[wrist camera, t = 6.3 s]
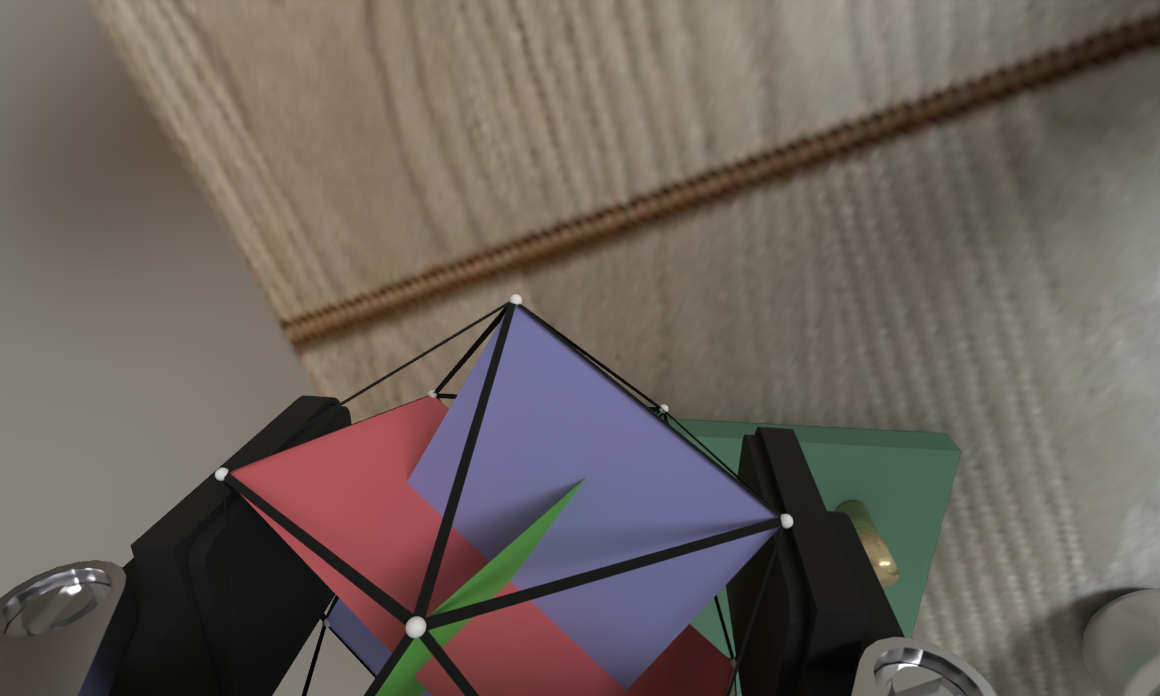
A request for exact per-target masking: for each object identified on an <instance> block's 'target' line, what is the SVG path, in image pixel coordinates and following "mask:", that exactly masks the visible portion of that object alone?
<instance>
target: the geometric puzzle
mask: <svg viewBox="0 0 1160 696" xmlns="http://www.w3.org/2000/svg"><path fill="white" fill-rule="evenodd" d="M521 303H522V298H521V297H520V296H519V295H517V294H514V295H512V296H511V297H510V301H509V302H507V303H506V304H504V305H502V306H501V307H499V308H497V309H496V310H494V311H492V312H491V313H489V314H487V315H486V316H484V317H482V318H481V319H479V320H477V321H476V322H474V323H472V324H471V325H469V326H468V327H466V328H464V329H463V330H461V331H459V332H458V333H456V334H454V335H453V336H451V337H449V338H448V339H446V340H444V341H443V342H441V343H439V344H438V345H436V346H434V347H433V348H431V349H429V350H428V351H426V352H424V353H423V354H421V355H419V356H418V357H416V358H414V359H413V360H411V361H409V362H408V363H406V364H404V365H403V366H401V367H399V368H398V369H396V370H395V371H393V372H391V373H390V374H388V375H386V376H385V377H383V378H381V379H380V380H378V381H376V382H375V383H373V384H371V385H370V386H368V387H366V388H365V389H363V390H361V391H360V392H358V393H356V394H355V395H353V396H351V397H350V398H348V399H346V400H345V401H343V402H341V403H340V404H338V405H336V406H335V407H333V408H331V409H330V410H328V411H326V412H325V413H323V414H322V415H320V416H318V417H317V418H315V419H313V420H312V421H310V422H308V423H307V424H305V425H303V426H302V427H300V428H298V429H297V430H295V431H293V432H292V433H290V434H288V435H287V436H285V437H283V438H282V439H280V440H278V441H277V442H275V443H273V444H272V445H270V446H268V447H267V448H265V449H263V450H262V451H260V452H258V453H257V454H255V455H253V456H252V457H250V458H249V459H247V460H245V461H244V462H242V463H240V464H239V465H237V466H235V467H234V468H232V469H230V470H228V469H226V468H219V469H218V470H217V471H216V472H215V477H216V479H217V480H219V481H222V484H223V497H224V510H225V522H226V525H227V510H226V497H225V485H224V483H225V484H226V486H227V487H228V489H229V490H230V492H231V493H232V492H233V490H236V491H237V492H238V495H237V496H236V497H235V496H234V494H233V493H232V494H233V496H234V497H235V499H236V498H237V497H238V496H239V495H242V496H243V497H244V498H245V499H246V501H247V502H248V503H249V504H250V505H251V506H252V507H253V508H254V509H255V510H256V511H257V512H258V513H259V514H260V515H261V516H262V517H263V518H264V519H265V520H266V522H267V523H268V524H269V525H270V526H271V527H272V528H273V529H274V530H275V531H276V532H277V533H278V534H279V535H280V536H281V537H282V538H283V539H284V540H285V541H286V542H287V544H288V545H289V546H290V547H291V548H292V549H293V550H294V551H295V552H296V553H297V554H298V555H299V556H300V557H301V558H302V559H303V560H304V561H305V562H306V563H307V565H308V566H309V567H310V568H311V569H312V570H313V571H314V572H315V573H316V574H317V575H318V576H319V577H320V578H321V579H322V580H323V581H324V582H325V583H326V584H327V585H328V587H329V588H330V589H331V590H332V591H333V592H334V593H335V594H336V596H335V598H334V600H333V602H332V604H331V606H330V609H329V611H328V613H327V615H325V614H324V613H323V615H322V617H321V618H320V619H321V620H322V629H321V633H320V636H319V639H318V643H317V646H316V649H315V653H314V656H313V659H312V663H311V666H310V669H309V673H308V676H307V680H306V683H305V686H304V690H303V693H302V696H306V695H307V692H308V688H309V685H310V681H311V677H312V674H313V671H314V667H315V664H316V660H317V657H318V653H319V650H320V646H321V643H322V639H323V636H324V632H325V629H326V628H329V629H330V630H331V631H332V632H333V633H334V634H335V635H336V636H337V637H338V638H339V640H340V641H341V642H342V643H343V644H344V645H345V646H346V647H347V648H348V649H349V650H350V651H351V652H352V653H353V655H354V656H355V657H356V658H357V659H358V660H359V661H360V662H361V663H362V664H363V665H364V666H365V667H366V668H367V669H368V671H369V672H370V673H371V674H372V675H373V676H374V677H375V680H374V681H373V683H372V684H371V686H370V687H369V689H368V690H367V692H366V693H365V695H364V696H737V689H736V675H737V672H738V669H739V666H740V662H741V659H742V656H743V653H744V650H745V647H746V644H747V641H748V638H749V635H750V632H751V629H752V626H753V623H754V620H755V617H756V613H757V610H758V607H759V604H760V601H761V598H762V595H763V592H764V589H765V586H766V583H767V580H768V577H769V574H770V571H771V568H772V564H773V561H774V558H775V555H776V552H777V549H778V546H779V543H780V540H781V537H782V534H783V531H784V528H790V527H791V526H792V525H793V519H792V517H791V516H790V515H788V514H782V515H781V514H780V513H779V512H778V511H777V510H776V509H775V508H774V507H772V506H771V505H770V504H769V503H768V502H767V501H766V500H765V499H764V498H762V497H761V496H760V495H759V494H758V493H757V492H756V491H755V490H753V489H752V488H751V487H750V486H749V485H748V484H747V483H746V482H745V481H743V480H742V479H741V478H740V477H739V476H738V475H737V474H736V473H735V472H733V471H732V470H731V469H730V468H729V467H728V466H727V465H726V464H724V463H723V462H722V461H721V460H720V459H719V458H718V457H717V456H716V455H714V454H713V453H712V452H711V451H710V450H709V449H708V448H707V447H706V446H704V445H703V444H702V443H701V442H700V441H699V440H698V439H697V438H695V437H694V436H693V435H692V434H691V433H690V432H689V431H688V430H687V429H685V428H684V427H683V426H682V425H681V424H680V423H679V422H678V421H677V420H675V419H674V418H673V417H672V416H671V415H670V414H669V413H668V406H667V405H665V404H663V405H661V406H659V405H658V404H656V403H655V402H653V401H652V400H651V399H649V398H648V397H647V396H645V395H644V394H643V393H641V392H640V391H639V390H637V389H636V388H634V387H633V386H632V385H630V384H629V383H628V382H626V381H625V380H624V379H622V378H621V377H619V376H618V375H617V374H615V373H614V372H613V371H611V370H610V369H609V368H607V367H606V366H605V365H603V364H602V363H600V362H599V361H598V360H596V359H595V358H594V357H592V356H591V355H590V354H588V353H587V352H585V351H584V350H583V349H581V348H580V347H579V346H577V345H576V344H575V343H573V342H572V341H571V340H569V339H568V338H566V337H565V336H564V335H562V334H561V333H560V332H558V331H557V330H556V329H554V328H553V327H551V326H550V325H549V324H547V323H546V322H545V321H543V320H542V319H541V318H539V317H538V316H537V315H535V314H534V313H532V312H531V311H530V310H528V309H527V308H526V307H524V306H523V305H522V304H521ZM504 307H505V308H504ZM502 308H504V309H503V310H502V311H501V312H500V314H499V315H498V316H497V317H496V318H495V319H494V321H493V322H492V323H491V324H490V325H489V327H488V328H487V329H486V330H485V331H484V333H483V334H482V335H481V336H480V337H479V339H478V340H477V341H476V342H475V343H474V344H473V346H472V347H471V348H470V349H469V350H468V352H467V353H466V354H465V355H464V356H463V358H462V359H461V360H460V361H459V362H458V363H457V365H456V366H455V367H454V368H453V369H452V371H451V372H450V373H449V374H448V375H447V377H446V378H445V379H444V380H443V381H442V383H441V384H440V385H439V386H438V387H437V388H436V390H435V391H434V390H431V391H429V392H428V396H426V397H423V398H420V399H418V400H415V401H413V402H410V403H407V404H405V405H402V406H399V407H397V408H394V409H391V410H389V411H386V412H383V413H381V414H378V415H376V416H373V417H370V418H368V419H365V420H362V421H360V422H357V423H354V424H352V425H349V426H347V427H344V428H341V429H339V430H336V431H333V432H331V433H328V434H325V435H323V436H320V437H318V438H315V439H312V440H310V441H307V442H304V443H302V444H299V445H296V446H294V447H291V448H289V449H286V450H283V451H281V452H278V453H275V454H273V455H270V456H267V457H265V458H262V459H259V460H257V461H254V462H252V463H249V464H246V465H244V464H245V463H247V462H249V461H250V460H252V459H254V458H255V457H257V456H259V455H260V454H262V453H264V452H265V451H267V450H269V449H270V448H272V447H274V446H275V445H277V444H278V443H280V442H282V441H283V440H285V439H287V438H288V437H290V436H292V435H293V434H295V433H297V432H298V431H300V430H302V429H303V428H305V427H307V426H308V425H310V424H312V423H313V422H315V421H317V420H318V419H320V418H322V417H323V416H325V415H327V414H328V413H330V412H332V411H333V410H335V409H337V408H338V407H340V406H341V405H343V404H345V403H346V402H348V401H350V400H351V399H353V398H355V397H356V396H358V395H360V394H361V393H363V392H365V391H366V390H368V389H370V388H371V387H373V386H375V385H376V384H378V383H380V382H381V381H383V380H385V379H386V378H388V377H390V376H391V375H393V374H395V373H396V372H398V371H400V370H401V369H403V368H404V367H406V366H408V365H409V364H411V363H413V362H414V361H416V360H418V359H419V358H421V357H423V356H424V355H426V354H428V353H429V352H431V351H433V350H434V349H436V348H438V347H439V346H441V345H443V344H444V343H446V342H448V341H449V340H451V339H453V338H454V337H456V336H458V335H459V334H461V333H463V332H464V331H466V330H468V329H469V328H471V327H472V326H474V325H476V324H477V323H479V322H481V321H482V320H484V319H486V318H487V317H489V316H491V315H492V314H494V313H496V312H497V311H499V310H501V309H502ZM498 324H499V325H498ZM497 325H498V326H497ZM496 326H497V328H496V330H495V332H494V333H493V335H492V337H491V338H490V340H489V342H488V344H487V345H486V347H485V349H484V350H483V352H482V354H481V356H480V357H479V359H478V361H477V362H476V364H475V366H474V368H473V369H472V371H471V373H470V375H469V376H468V378H467V380H466V381H465V383H464V385H463V387H462V388H461V390H460V392H459V393H458V395H456V394H440V393H439V392H440V391H441V390H442V388H443V387H444V386H445V385H446V384H447V383H448V381H449V380H450V379H451V378H452V377H453V376H454V375H455V373H456V372H457V371H458V370H459V369H460V368H461V366H462V365H463V364H464V363H465V362H466V361H467V360H468V358H469V357H470V356H471V355H472V354H473V353H474V351H475V350H476V349H477V348H478V347H479V346H480V345H481V343H482V342H483V341H484V340H485V339H486V338H487V336H488V335H489V334H490V333H491V332H492V331H493V330H494V328H495V327H496ZM574 347H575V348H574ZM577 349H578V350H579V351H580V352H579V351H578V350H577ZM581 352H582V353H583V354H584V355H586V356H587V357H589V358H590V359H591V360H593V361H594V362H595V363H597V364H598V365H600V366H601V367H602V368H604V369H605V370H606V371H608V372H609V373H611V374H612V375H613V376H615V377H616V378H617V379H619V380H620V381H622V382H623V383H624V384H626V385H627V386H628V387H630V388H631V389H633V390H634V391H635V392H637V393H638V394H639V395H641V396H642V397H644V398H645V399H646V400H648V401H649V402H650V403H652V404H653V405H655V406H656V407H647V406H646V405H645V404H644V403H642V402H641V401H640V400H639V399H637V398H636V397H635V396H634V395H633V394H631V393H630V392H629V391H628V390H626V389H625V388H624V387H623V386H621V385H620V384H619V383H618V382H616V381H615V380H614V379H613V378H611V377H610V376H609V375H608V374H607V373H605V372H604V371H603V370H602V369H600V368H599V367H598V366H597V365H595V364H594V363H593V362H592V361H590V360H589V359H588V358H587V357H585V356H584V355H583V354H582V353H581ZM439 398H448V399H455V400H454V402H453V404H452V405H451V407H450V409H448V408H447V407H446V406H445V405H444V404H443V403H442V402H441V401H440V399H439ZM655 412H657V413H655ZM666 414H667V415H668V416H669V417H670V418H671V419H672V420H673V421H675V422H676V423H677V424H678V425H679V426H680V427H681V428H682V429H683V430H684V431H686V432H687V433H688V434H689V435H690V436H691V437H692V438H693V439H694V440H695V441H697V442H698V443H699V444H700V445H701V446H702V447H703V448H704V449H705V450H706V451H708V452H709V453H710V454H711V455H712V456H713V457H714V458H715V459H716V460H717V461H719V462H720V463H721V464H722V465H723V466H724V467H725V468H726V469H727V470H728V471H730V472H731V473H732V474H733V475H734V476H735V477H736V478H737V479H736V478H735V477H734V476H733V475H732V474H730V473H729V472H728V471H727V470H725V469H724V468H723V467H722V466H720V465H719V464H718V463H717V462H715V461H714V460H713V459H712V458H710V457H709V456H708V455H707V454H706V453H704V452H703V451H702V450H701V449H699V448H698V447H697V446H696V445H694V444H693V443H692V442H691V441H689V440H688V439H687V438H686V437H684V436H683V435H682V434H681V433H680V432H678V431H677V430H676V429H675V428H673V427H672V426H671V425H670V424H669V422H668V419H667V415H666ZM662 415H663V417H664V420H663V419H662V418H661V417H662ZM242 465H244V466H242ZM240 466H241V467H240ZM740 481H741V482H742V483H741V482H740ZM780 527H781V528H780ZM779 528H780V530H779V533H778V536H777V539H776V544H775V547H774V550H773V553H772V556H771V559H770V562H769V565H768V568H767V572H766V575H765V578H764V581H763V584H762V587H761V590H760V593H759V596H758V599H757V602H756V605H755V608H754V611H753V614H752V617H751V620H750V623H749V626H748V630H747V633H746V636H745V639H744V642H743V645H742V648H741V651H740V654H739V657H738V660H736V656H735V658H734V654H733V651H732V647H731V644H730V640H729V636H728V633H727V629H726V626H725V622H724V619H723V615H722V611H721V608H720V604H719V601H718V597H717V594H718V593H719V591H720V590H721V589H722V588H723V587H724V586H725V585H726V584H727V583H728V582H729V581H730V580H731V579H732V578H733V577H734V576H735V574H736V573H737V572H738V571H739V570H740V569H741V568H742V567H743V566H744V565H745V564H746V563H747V562H748V561H749V560H750V559H751V557H752V556H753V555H754V554H755V553H756V552H757V551H758V550H759V549H760V548H761V547H762V546H763V545H764V544H765V543H766V542H767V540H768V539H769V538H770V537H771V536H772V535H773V534H774V533H775V532H776V531H777V530H778V529H779ZM226 535H227V548H228V561H229V574H230V587H231V600H232V613H233V626H234V638H235V651H236V664H237V677H238V690H239V696H241V689H240V676H239V663H238V650H237V638H236V625H235V612H234V599H233V587H232V574H231V561H230V548H229V536H228V527H227V530H226ZM713 598H714V600H715V603H716V607H717V611H718V614H719V618H720V621H721V625H722V629H723V632H724V636H725V639H726V643H727V646H728V650H729V654H730V657H731V658H729V657H727V656H725V655H724V654H723V653H722V652H721V651H720V650H719V649H718V648H716V647H715V646H714V645H713V644H712V643H711V642H710V641H709V640H707V639H706V638H705V637H704V636H703V635H702V634H701V633H700V632H698V631H697V630H696V629H695V628H694V627H693V626H692V625H691V624H689V623H690V622H691V621H692V620H693V619H694V618H695V617H696V616H697V615H698V614H699V613H700V612H701V611H702V609H703V608H704V607H705V606H706V605H707V604H708V603H709V602H710V601H711V600H712V599H713Z"/></svg>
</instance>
